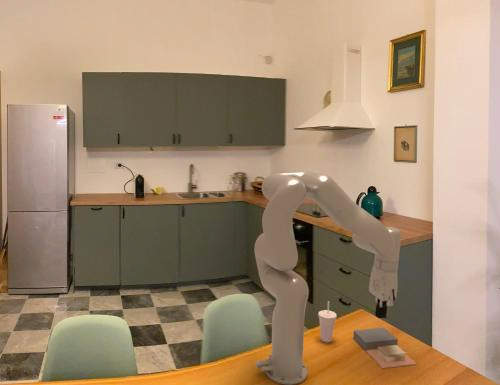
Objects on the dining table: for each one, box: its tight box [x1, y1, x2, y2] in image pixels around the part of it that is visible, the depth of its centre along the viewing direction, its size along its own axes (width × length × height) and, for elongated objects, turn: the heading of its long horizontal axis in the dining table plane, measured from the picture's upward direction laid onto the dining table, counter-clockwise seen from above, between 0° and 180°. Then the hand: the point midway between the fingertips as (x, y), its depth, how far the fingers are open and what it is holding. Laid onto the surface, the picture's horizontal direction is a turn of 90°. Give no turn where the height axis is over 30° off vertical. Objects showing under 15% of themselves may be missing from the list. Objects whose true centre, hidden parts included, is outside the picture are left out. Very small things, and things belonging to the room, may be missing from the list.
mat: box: [364, 349, 417, 370], centre depth 128 cm, size 12×10×1 cm
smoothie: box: [317, 301, 338, 343], centre depth 138 cm, size 6×6×14 cm
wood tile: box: [377, 344, 407, 362], centre depth 128 cm, size 7×5×2 cm
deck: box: [352, 327, 399, 351], centre depth 137 cm, size 12×8×3 cm
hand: (380, 316), depth 132 cm, fingers closed
